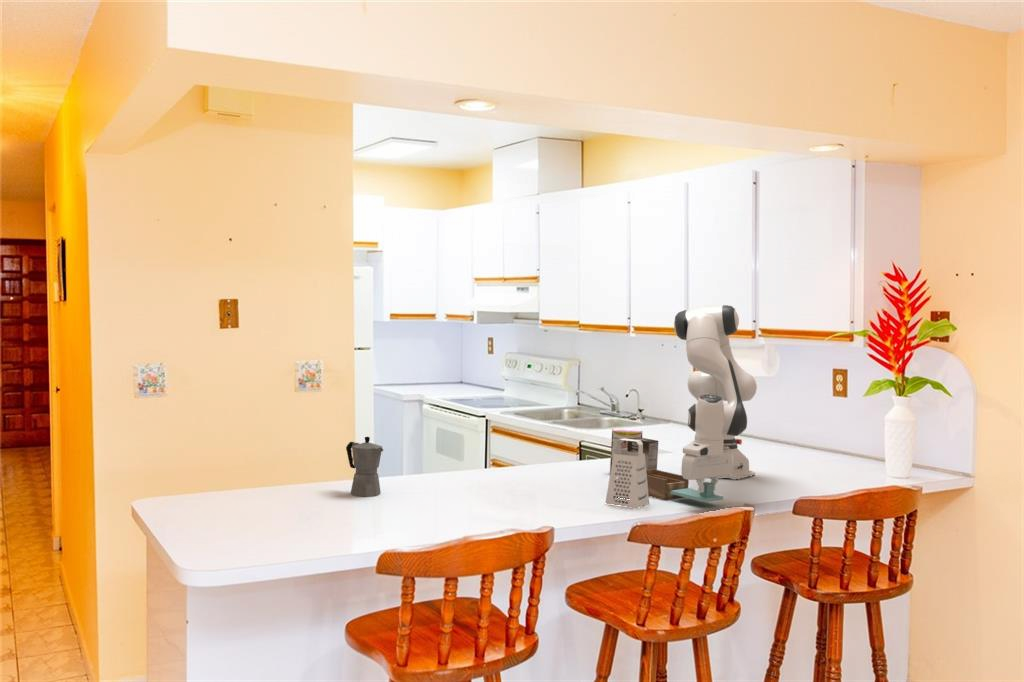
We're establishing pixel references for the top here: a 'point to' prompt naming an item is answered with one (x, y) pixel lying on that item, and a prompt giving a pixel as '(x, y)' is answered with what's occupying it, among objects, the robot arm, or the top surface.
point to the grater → (628, 477)
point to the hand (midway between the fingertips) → (706, 491)
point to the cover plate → (699, 493)
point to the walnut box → (664, 484)
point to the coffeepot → (365, 468)
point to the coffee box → (646, 451)
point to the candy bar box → (621, 434)
